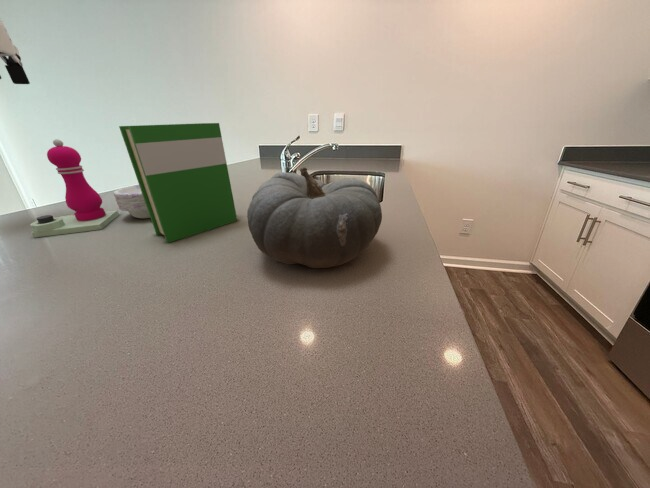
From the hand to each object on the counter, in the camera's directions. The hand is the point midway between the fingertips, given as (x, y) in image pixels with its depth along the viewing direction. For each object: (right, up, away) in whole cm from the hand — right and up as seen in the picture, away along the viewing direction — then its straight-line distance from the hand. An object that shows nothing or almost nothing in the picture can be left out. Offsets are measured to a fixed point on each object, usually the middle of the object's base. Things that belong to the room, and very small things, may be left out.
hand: (8, 81), depth 63 cm
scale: (+11, -35, +7) cm, 37 cm away
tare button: (+8, -34, +1) cm, 35 cm away
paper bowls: (+26, -31, +14) cm, 43 cm away
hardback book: (+45, -36, +3) cm, 58 cm away
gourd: (+76, -41, -9) cm, 87 cm away
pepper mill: (+13, -32, +8) cm, 36 cm away
